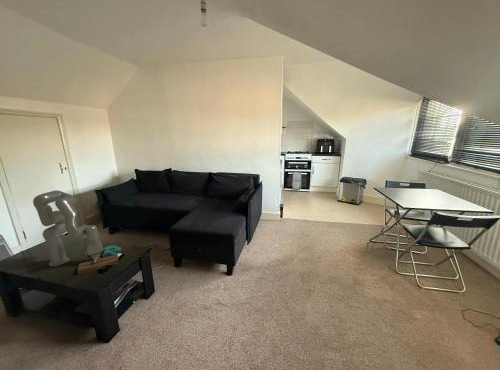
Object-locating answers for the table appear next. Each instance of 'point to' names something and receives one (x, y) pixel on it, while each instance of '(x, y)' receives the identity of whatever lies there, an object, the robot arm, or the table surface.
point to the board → (97, 264)
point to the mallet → (95, 257)
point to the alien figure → (111, 250)
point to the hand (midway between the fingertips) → (97, 260)
